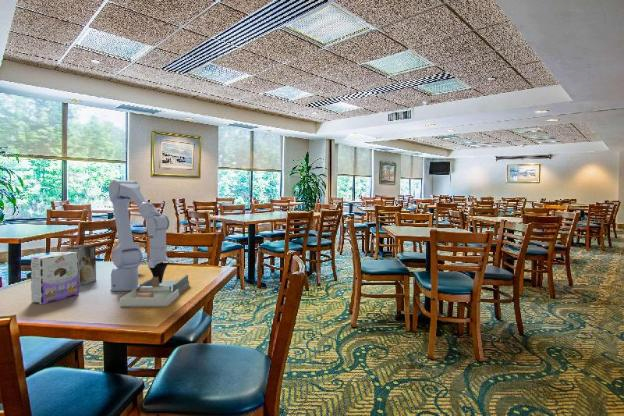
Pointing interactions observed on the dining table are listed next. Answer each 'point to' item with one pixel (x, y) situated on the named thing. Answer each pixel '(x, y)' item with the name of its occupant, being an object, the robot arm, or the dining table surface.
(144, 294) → the terracotta tile
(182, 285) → the plate
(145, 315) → the dining table surface
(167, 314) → the dining table surface
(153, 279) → the pale grey block
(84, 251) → the coffee box
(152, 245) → the robot arm
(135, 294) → the box
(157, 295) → the sage tile
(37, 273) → the candy box
